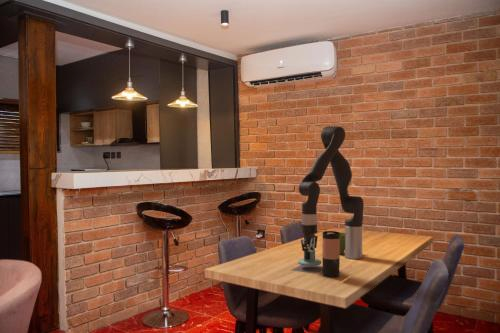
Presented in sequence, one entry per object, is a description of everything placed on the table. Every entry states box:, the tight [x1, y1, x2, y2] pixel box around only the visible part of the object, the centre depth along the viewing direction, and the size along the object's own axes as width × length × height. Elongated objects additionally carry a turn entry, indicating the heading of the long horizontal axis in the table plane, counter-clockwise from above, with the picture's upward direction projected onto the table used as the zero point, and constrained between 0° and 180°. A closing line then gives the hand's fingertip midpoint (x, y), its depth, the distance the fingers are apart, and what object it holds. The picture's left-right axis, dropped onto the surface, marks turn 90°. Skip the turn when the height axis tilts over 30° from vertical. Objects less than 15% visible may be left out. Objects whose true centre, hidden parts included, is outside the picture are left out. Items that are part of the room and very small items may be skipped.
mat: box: [291, 264, 323, 275], centre depth 196 cm, size 15×12×1 cm
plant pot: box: [338, 231, 345, 255], centre depth 232 cm, size 12×12×11 cm
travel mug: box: [321, 230, 341, 279], centre depth 184 cm, size 8×8×20 cm
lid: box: [297, 249, 322, 266], centre depth 196 cm, size 11×11×6 cm
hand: (309, 258), depth 196 cm, fingers closed on lid, 4 cm apart
